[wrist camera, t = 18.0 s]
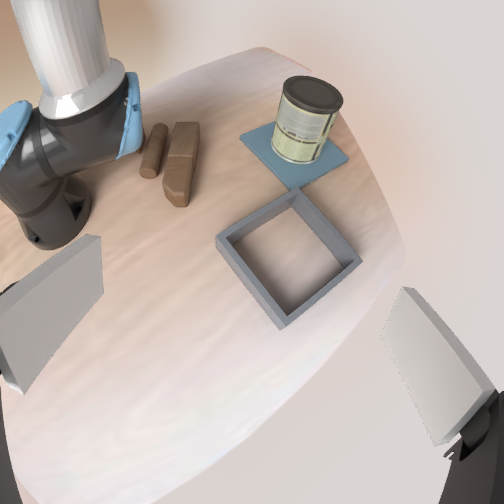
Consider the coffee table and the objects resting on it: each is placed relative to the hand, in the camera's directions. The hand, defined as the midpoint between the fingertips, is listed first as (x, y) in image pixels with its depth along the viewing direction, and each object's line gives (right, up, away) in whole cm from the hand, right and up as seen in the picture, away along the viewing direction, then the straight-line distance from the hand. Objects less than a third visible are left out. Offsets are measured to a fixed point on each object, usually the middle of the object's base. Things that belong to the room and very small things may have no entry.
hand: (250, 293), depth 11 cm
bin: (+6, 0, +33) cm, 34 cm away
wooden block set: (-19, +17, +38) cm, 46 cm away
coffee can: (+9, +23, +42) cm, 49 cm away
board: (+9, +22, +43) cm, 49 cm away
